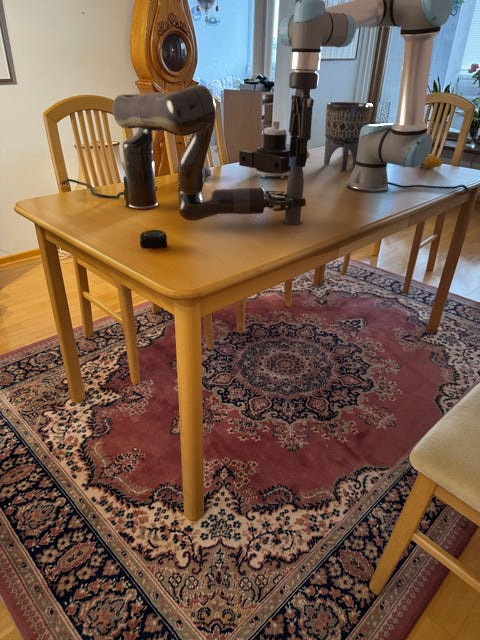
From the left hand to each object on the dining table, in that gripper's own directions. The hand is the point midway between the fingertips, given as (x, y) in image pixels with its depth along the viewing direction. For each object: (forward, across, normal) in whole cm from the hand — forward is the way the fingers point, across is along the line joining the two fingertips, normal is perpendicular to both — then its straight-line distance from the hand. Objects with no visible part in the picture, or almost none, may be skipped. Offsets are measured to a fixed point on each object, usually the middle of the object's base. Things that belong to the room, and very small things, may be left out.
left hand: (302, 199), depth 136 cm
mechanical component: (+9, +66, +7) cm, 67 cm away
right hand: (-3, 0, -11) cm, 11 cm away
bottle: (-3, 0, +7) cm, 7 cm away
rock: (-28, +57, +7) cm, 64 cm away
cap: (-3, 0, -12) cm, 12 cm away
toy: (+82, +74, +7) cm, 111 cm away
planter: (+41, +77, +7) cm, 87 cm away
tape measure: (-44, -18, +7) cm, 48 cm away
